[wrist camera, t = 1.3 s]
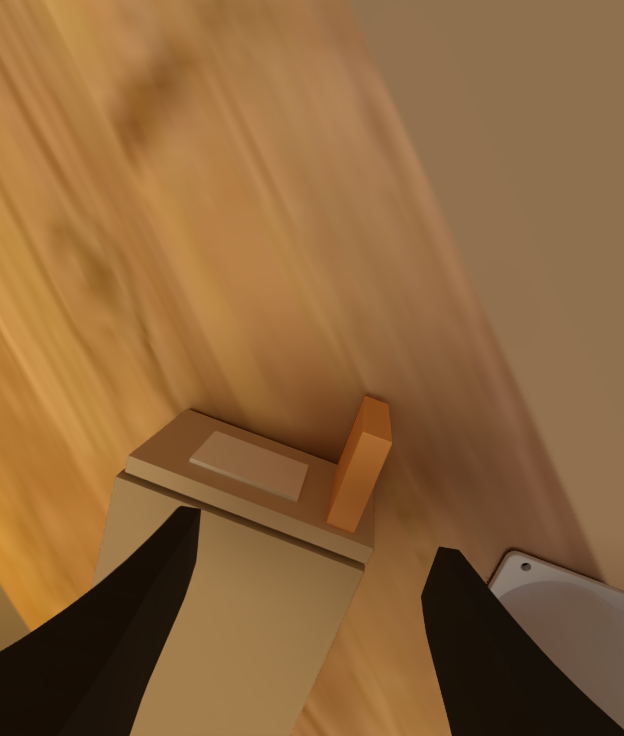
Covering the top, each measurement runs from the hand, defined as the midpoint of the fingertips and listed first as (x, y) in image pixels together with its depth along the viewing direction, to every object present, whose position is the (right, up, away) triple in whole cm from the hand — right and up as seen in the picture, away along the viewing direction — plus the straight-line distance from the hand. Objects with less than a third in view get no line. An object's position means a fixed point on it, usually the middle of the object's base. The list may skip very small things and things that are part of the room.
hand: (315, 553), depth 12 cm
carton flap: (-1, +3, +9) cm, 10 cm away
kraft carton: (-5, -7, +13) cm, 15 cm away
